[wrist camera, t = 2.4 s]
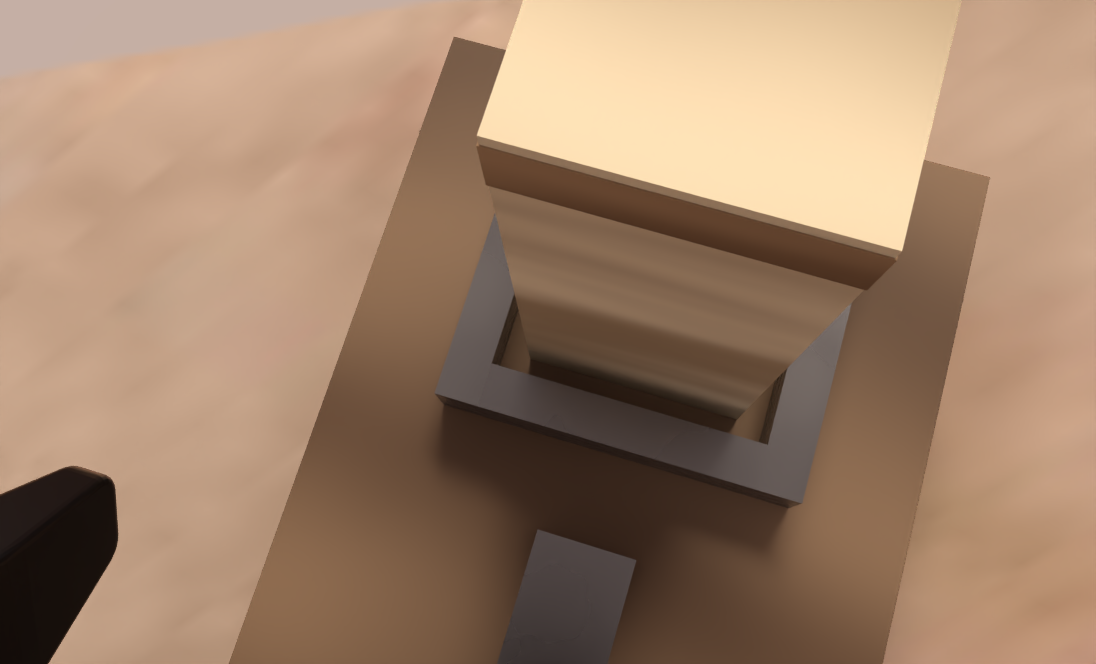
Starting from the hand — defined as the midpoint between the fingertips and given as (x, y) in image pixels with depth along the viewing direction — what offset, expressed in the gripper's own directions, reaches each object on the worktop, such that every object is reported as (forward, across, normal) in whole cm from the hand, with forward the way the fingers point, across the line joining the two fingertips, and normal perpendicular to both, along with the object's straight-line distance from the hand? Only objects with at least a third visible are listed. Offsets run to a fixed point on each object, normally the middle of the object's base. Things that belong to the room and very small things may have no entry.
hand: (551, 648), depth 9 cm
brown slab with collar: (+10, 0, +8) cm, 13 cm away
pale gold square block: (+11, 0, +2) cm, 11 cm away
